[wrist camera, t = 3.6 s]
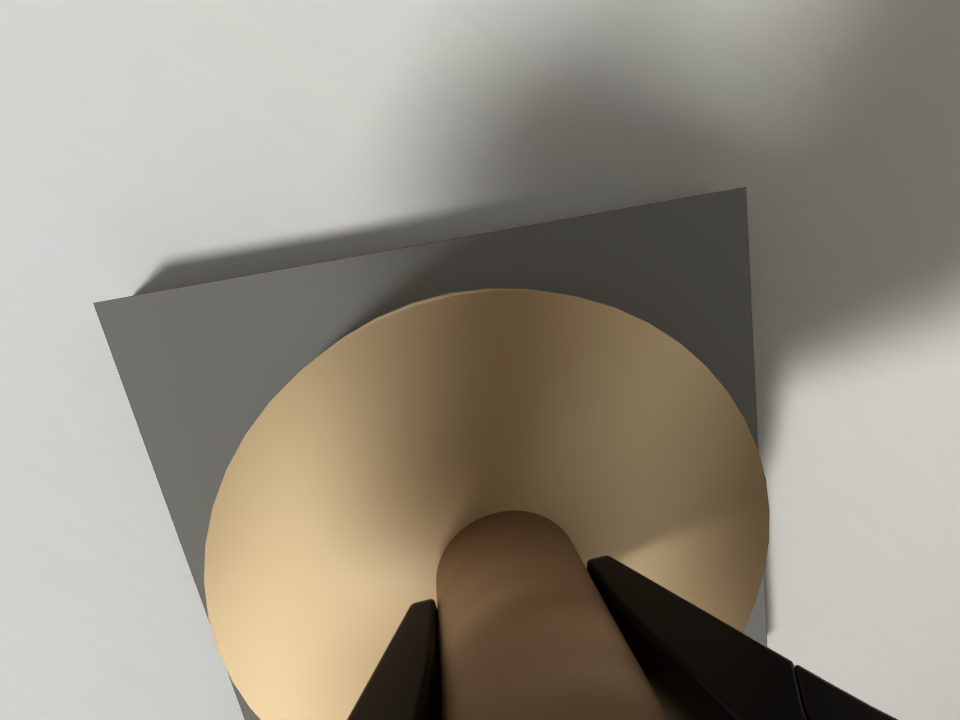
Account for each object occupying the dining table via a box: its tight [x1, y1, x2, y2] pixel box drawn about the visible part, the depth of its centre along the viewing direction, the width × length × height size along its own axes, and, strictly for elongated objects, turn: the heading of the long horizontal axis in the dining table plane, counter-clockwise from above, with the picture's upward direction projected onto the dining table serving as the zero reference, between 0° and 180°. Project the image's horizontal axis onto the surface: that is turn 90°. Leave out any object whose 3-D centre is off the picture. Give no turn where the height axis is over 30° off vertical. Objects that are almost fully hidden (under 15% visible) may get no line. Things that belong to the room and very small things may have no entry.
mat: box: [93, 187, 767, 720], centre depth 11 cm, size 13×13×1 cm
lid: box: [204, 288, 769, 720], centre depth 7 cm, size 11×11×5 cm
